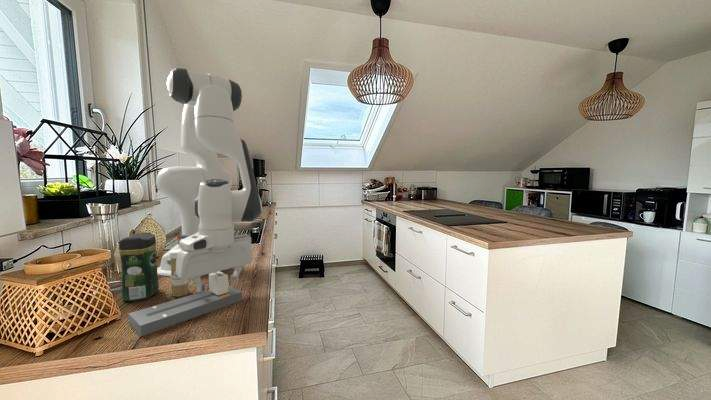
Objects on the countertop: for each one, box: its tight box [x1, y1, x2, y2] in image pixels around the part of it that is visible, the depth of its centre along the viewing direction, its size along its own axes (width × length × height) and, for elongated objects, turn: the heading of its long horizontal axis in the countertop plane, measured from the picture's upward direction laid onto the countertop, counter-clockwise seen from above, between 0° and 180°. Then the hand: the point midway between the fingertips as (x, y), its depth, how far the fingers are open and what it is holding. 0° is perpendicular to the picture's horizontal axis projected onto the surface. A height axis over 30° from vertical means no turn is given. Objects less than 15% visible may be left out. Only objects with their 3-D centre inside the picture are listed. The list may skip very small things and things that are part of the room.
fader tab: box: [208, 271, 229, 295], centre depth 80 cm, size 3×5×5 cm, turn 52°
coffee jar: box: [118, 232, 160, 302], centre depth 84 cm, size 10×8×19 cm
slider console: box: [128, 284, 243, 337], centre depth 75 cm, size 24×9×3 cm, turn 142°
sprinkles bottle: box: [170, 249, 190, 298], centre depth 85 cm, size 5×5×14 cm
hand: (218, 285), depth 80 cm, fingers open, 8 cm apart
